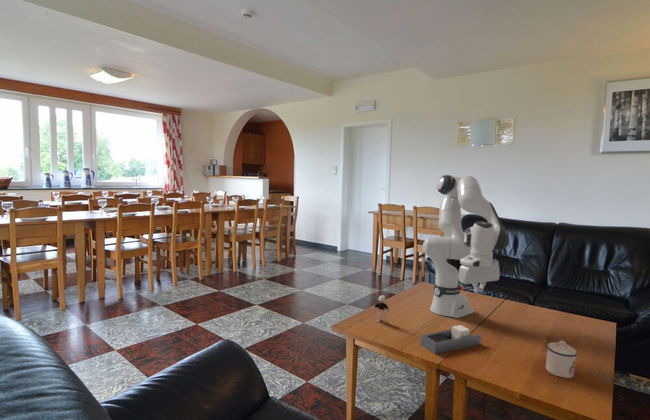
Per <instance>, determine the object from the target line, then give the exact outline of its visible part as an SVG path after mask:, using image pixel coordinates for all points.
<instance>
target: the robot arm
mask: <svg viewBox="0 0 650 420" xmlns="http://www.w3.org/2000/svg"><path fill="white" fill-rule="evenodd" d="M437 191H438V193H440V194H442V195H443V196H444V197H443V198H442V199H441V203H440V206H439V214H438V228H439V230H440V231H441V232H443V233H444V234H446V235H448V236H449V237H448V236H439V235H435V236H428V237H426V238H425V240H423V243H422V250H423V252H424V254H425V255H426V256H427V257H428V258H429V259H430V260H431V262H432V263H433V266H434V269H435V279H434V280H435V282H434V284H433V285H434V286H433V291H434V292H433V297H432V302H431V306H430V309H429V310H430V311H431V312H432V313H434V314H436V315H439V316H443V317H444V316H445V317H452V318H455V319H459V318H462V317H465V316H469V315H471V314H474V313H475V311H474V309H473V308H471V307H470V302H469V299H468V297H466V296H464V295H463V294H462V293H461V291H464V290H465V287H464V286H462V285H459V283H460V284H463V285H469V284H471V285H472V287H473V292H474V293H475V294H479V293H483V292H484V289H485V286H486V284H487V283H488V282H495V281H496V282H497V281H499V280H500V266H499V265H500V264H499V260H497V259H496V258H494V257H493V256H494V252H493V251H496V252H502V251H503V250H505V249H507V247H508V246H509V245H510V236H509V232H508V231H507V230H506V229H505V228H504V225H503V223H502V221H501V219H500V217H499V214H498V213H497V210H496V209H495V207H494V205H493V203H492V202H490V201H489V200H487V199H486V197H484V196H483V194H482V190H481V186H480V184H479V182H478V180H477V179H476V178H475V177H474V176H471V175H466V176H463V177H458V176H453V175H448V174H444V175H442V176H441V177H440V178H439V179H438V182H437ZM462 210H463V211H465V212H467V213H470V214H474V215H477V216H480V217H482V218H484V219H485V220H486V221H484V220H481V221H475V222H474V223H473V226H469V227H467V228H466V229H465V230H464V231H463V227H462ZM449 259H450V260H458V261H459V263H460V264H461V265H460V266H459V269H457V267H455V266H454V265H452V264H450V263H449V262H448V261H447V260H449ZM479 283H480V284H479Z"/></svg>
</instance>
